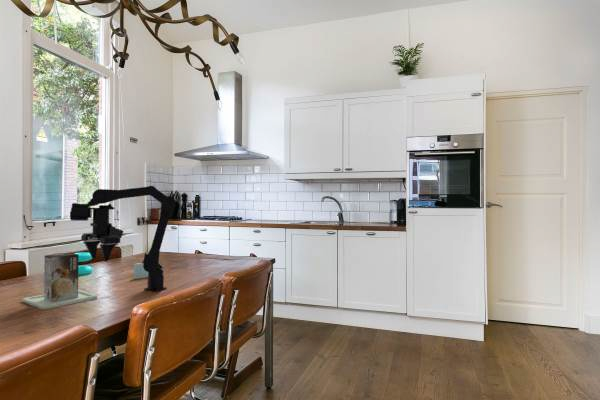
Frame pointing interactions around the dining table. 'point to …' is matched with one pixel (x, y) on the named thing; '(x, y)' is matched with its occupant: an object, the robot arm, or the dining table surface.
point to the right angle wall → (139, 271)
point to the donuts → (84, 269)
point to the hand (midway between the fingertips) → (100, 259)
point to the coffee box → (60, 277)
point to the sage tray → (44, 304)
